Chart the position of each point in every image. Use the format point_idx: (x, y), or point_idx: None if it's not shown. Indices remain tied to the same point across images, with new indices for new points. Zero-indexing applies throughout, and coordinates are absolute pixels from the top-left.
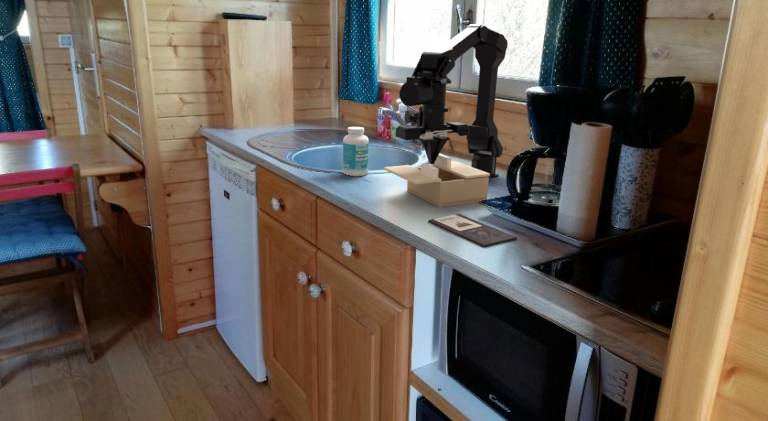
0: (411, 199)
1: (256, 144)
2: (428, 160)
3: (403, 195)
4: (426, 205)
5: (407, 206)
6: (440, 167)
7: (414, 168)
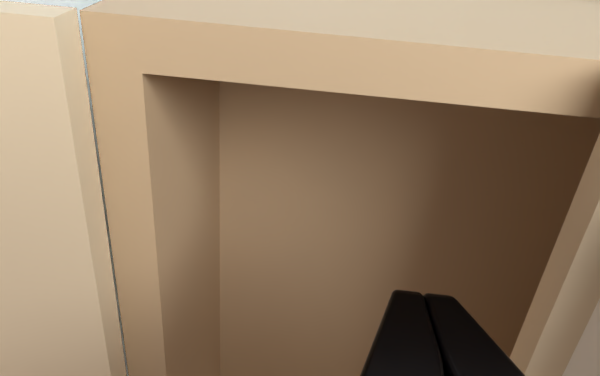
0: (106, 214)
1: None
2: (381, 323)
3: None
4: None
5: None
6: (527, 333)
7: (67, 282)
